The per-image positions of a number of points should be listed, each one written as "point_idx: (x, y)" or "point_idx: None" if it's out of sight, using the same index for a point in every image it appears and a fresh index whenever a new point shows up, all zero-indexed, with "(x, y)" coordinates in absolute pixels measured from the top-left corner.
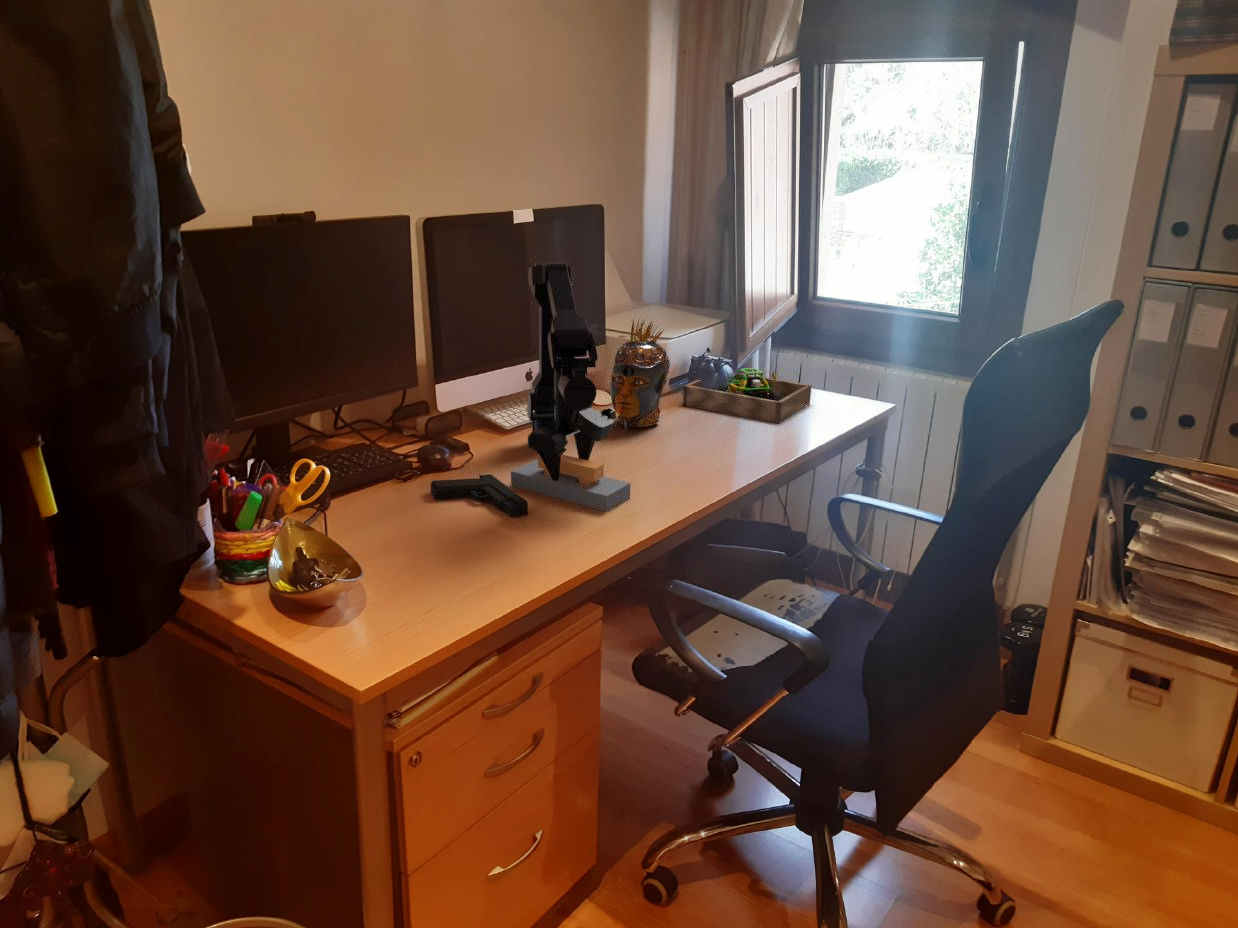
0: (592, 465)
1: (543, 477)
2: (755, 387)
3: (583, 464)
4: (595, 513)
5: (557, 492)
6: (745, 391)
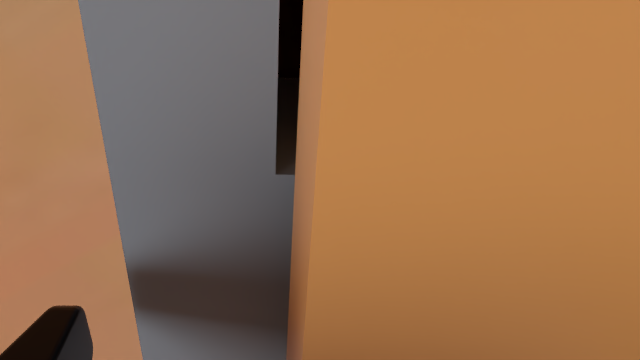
0: (625, 100)
1: None
2: None
3: (611, 294)
4: None
5: None
6: None
